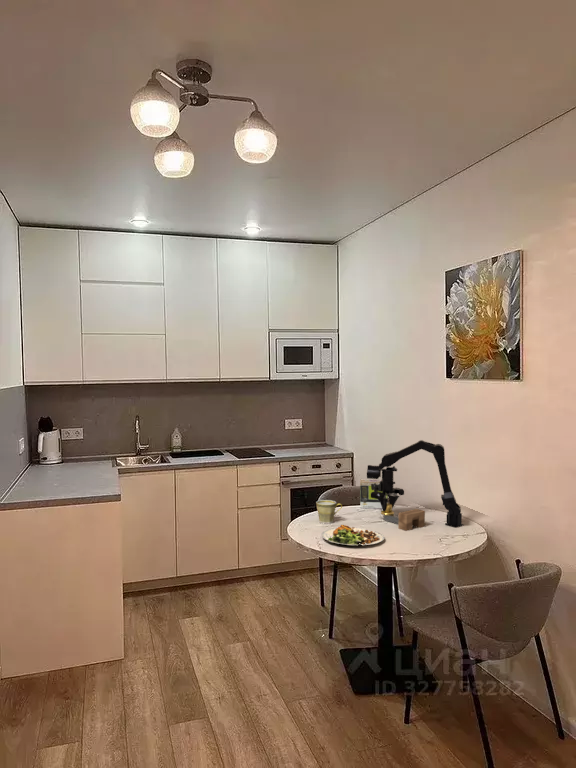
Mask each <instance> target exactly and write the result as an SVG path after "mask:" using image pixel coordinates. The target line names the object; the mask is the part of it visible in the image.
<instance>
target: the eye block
mask: <svg viewBox="0 0 576 768" xmlns="http://www.w3.org/2000/svg"><path fill="white" fill-rule="evenodd" d="M398 516H399V523H398V524H397V525H398V529H399V530H402V531H412V530H413V527H414V528H419V529H420V528H425V527H424V526H426V524H425V523H426V522H425V521H426V518H425V517H426V511H425V510H421V509H418V508H416V509H411V510H406V511H400V512H398ZM412 520H413V522H412Z"/></svg>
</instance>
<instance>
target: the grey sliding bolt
mask: <svg viewBox="0 0 576 768" xmlns="http://www.w3.org/2000/svg"><path fill="white" fill-rule="evenodd" d="M380 514H381V515H382V516H383V520H384V521H386V522H390V523H394V524H396V525H398V523H399V515H397V514H395V511H393V508H392V504H391V503H389V502H388V503H387V506H386V510H385V511H383V510H381V512H380ZM412 522H413V520H412Z"/></svg>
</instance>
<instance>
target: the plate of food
mask: <svg viewBox="0 0 576 768" xmlns="http://www.w3.org/2000/svg"><path fill="white" fill-rule="evenodd" d="M332 535H333V537H332V538H331V536H332ZM321 537H322V538H323V539H324V540H326V541H328V542H330V543H335V544H338V545H339V544H340V545H346V546H358V545H361V544H363V545H362V546H367V545H368V546H369V545H370V546H371V545H374V544H375V545H376V544H378V543H380V542H383V541H384V540H385V536H384V535H383V533H380V532H378V531H376V530H373V529H368V528H363V527H354V526H352V527H351V526H349V525H346V524H341V525H339V526H338V527H333V528H328V529H325V530H324V531H322V533H321ZM359 543H361V544H359ZM365 543H367V544H365Z"/></svg>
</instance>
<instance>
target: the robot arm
mask: <svg viewBox="0 0 576 768" xmlns="http://www.w3.org/2000/svg"><path fill="white" fill-rule="evenodd" d="M420 450H422V451H425V452H427V453H431V454H432V455H433V456H434V457H433V458H434V460H435V462H436V464H437V468H438V473H439V476H440V481H441V485H442V490H443V494H441V495H440V498H441V500H442V506H444V508H445V509H446V510H447V512H446V523H445V526H449V527H453V528H459V527H462V525H463V526H464V525H465V524H464V523H463V522H462V521H463V520H462V519H463V516H462V515H463V513H461V512H462V508H461V507H462V506H461V505H459V504H458V503H457V500H456V498H455V495H454V493H453V491H452V488H451V483H450V479H449V474H448V470H447V466H446V457H445V456H446V455H445V447H444V446H443V444H440V443H436V444H435V443H432V442H428V441H426V440H423V439H420V440H418V441H417V442H415V443H413V444H411V445H409V446H406V447H403V448H402V449H400V450H398V451H394V452H390V453H386V454H384V455H383V456H382V458H381V462H380V463H379V464H378V465H371V464H368V465H367V468H366V469H367V470H366V479H380V478H381V479H382V481H380V484H378V485H376V483H374V484H371V489H372V490H374V492H372V493H371V498H375V499H378V500H379V501H380V503H381V506H382V511H385V510H386V506H387V501H388V503H391V504H392V509H394V506H395V505H396V502H397V500H398V499H399V498H400V496H404V495H405V490H404V489H403V488H400V487H394V485H395V484H396V481H394V472H398V468H397V467H396V466H395V465H394V464H395V463H397V462H398V461H400V460H401V459H402V458H406V457H407V456H409V455H411V454H414V453H416V452H419V451H420ZM378 491H380V492H378ZM386 496H388V498H386ZM458 526H459V527H458Z"/></svg>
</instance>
